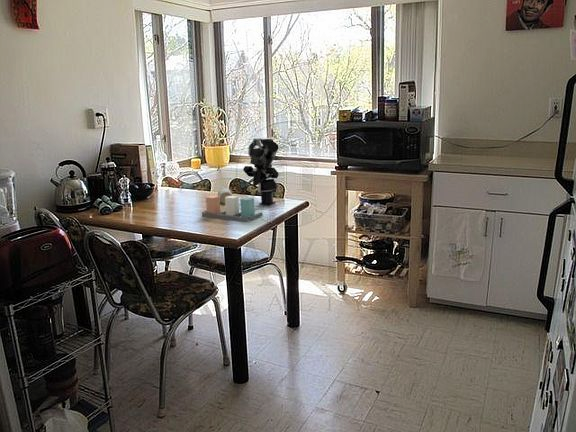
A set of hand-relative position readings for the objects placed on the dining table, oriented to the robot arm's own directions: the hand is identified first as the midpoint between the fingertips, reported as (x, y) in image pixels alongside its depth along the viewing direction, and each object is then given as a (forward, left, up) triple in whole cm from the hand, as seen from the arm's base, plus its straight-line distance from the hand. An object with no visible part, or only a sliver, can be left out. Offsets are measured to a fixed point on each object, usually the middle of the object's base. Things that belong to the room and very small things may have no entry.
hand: (253, 186), depth 243 cm
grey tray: (+12, -5, -14) cm, 19 cm away
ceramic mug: (-11, -26, -14) cm, 31 cm away
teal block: (+12, +4, -12) cm, 17 cm away
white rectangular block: (+12, -5, -12) cm, 18 cm away
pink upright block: (+15, -14, -12) cm, 24 cm away
